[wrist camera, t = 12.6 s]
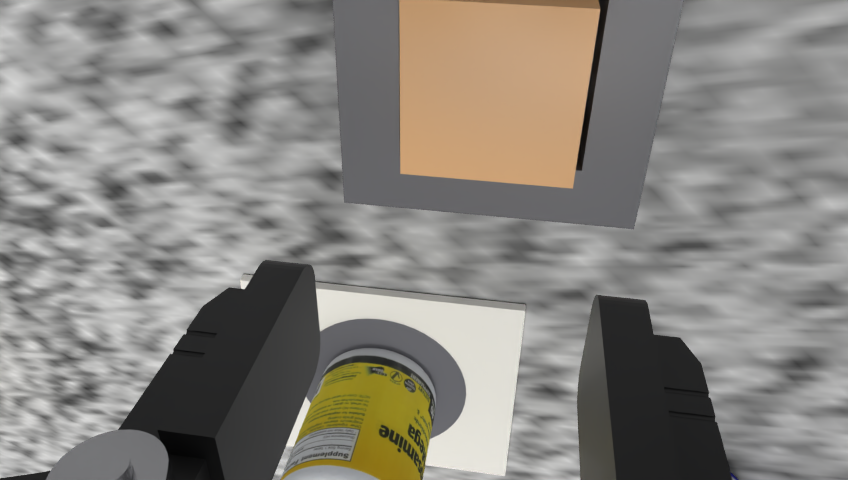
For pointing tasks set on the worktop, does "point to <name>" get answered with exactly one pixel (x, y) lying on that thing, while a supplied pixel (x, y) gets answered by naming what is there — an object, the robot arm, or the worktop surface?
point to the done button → (495, 88)
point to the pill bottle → (366, 420)
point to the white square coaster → (434, 362)
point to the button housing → (584, 204)
